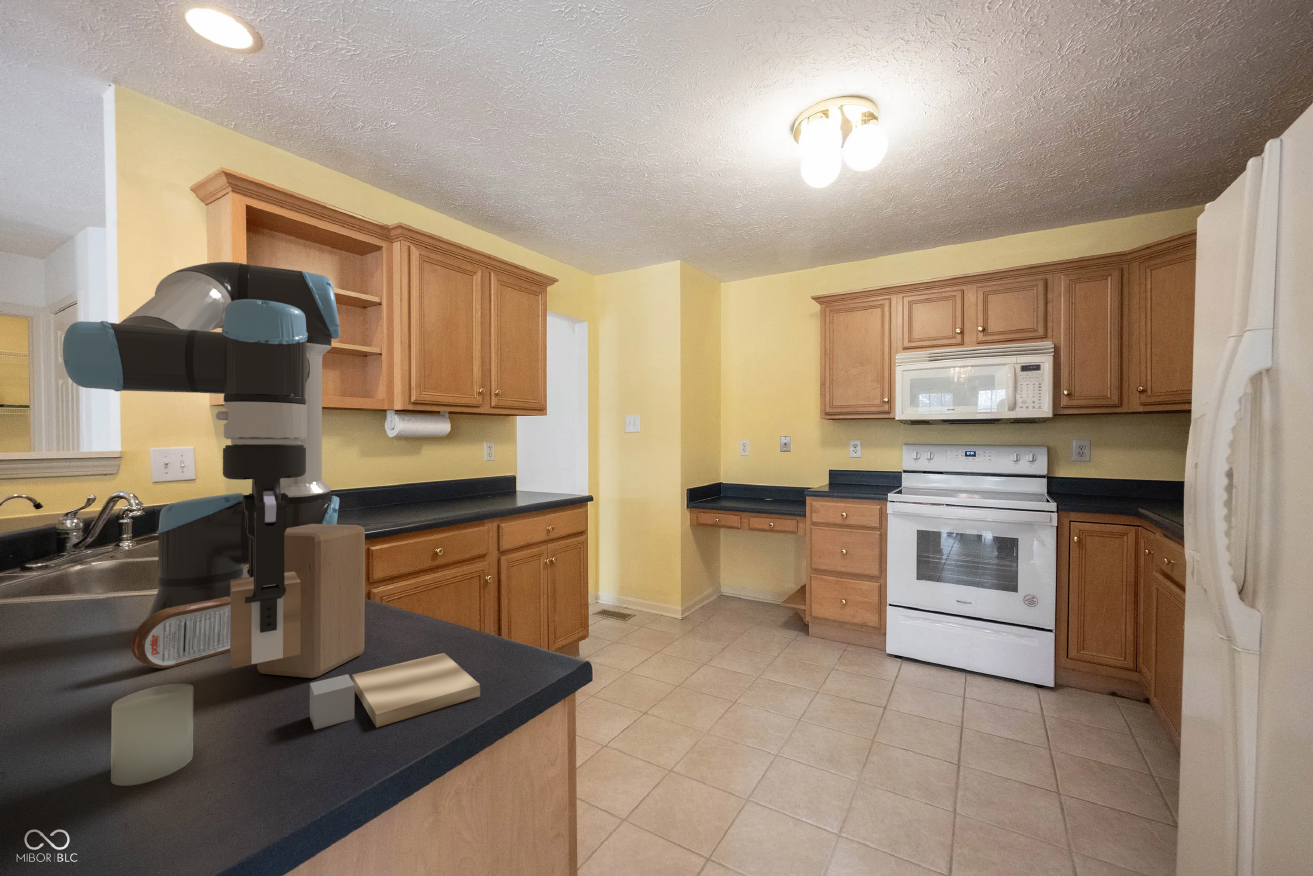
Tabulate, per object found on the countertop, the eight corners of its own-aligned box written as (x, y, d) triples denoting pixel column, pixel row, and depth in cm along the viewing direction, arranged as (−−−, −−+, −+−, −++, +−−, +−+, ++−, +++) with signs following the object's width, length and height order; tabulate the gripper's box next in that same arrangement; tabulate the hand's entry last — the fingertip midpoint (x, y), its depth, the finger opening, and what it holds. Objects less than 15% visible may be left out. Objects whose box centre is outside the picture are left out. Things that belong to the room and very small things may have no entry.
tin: (251, 641, 90) (251, 590, 90) (260, 644, 88) (261, 592, 89) (129, 674, 77) (130, 614, 77) (138, 679, 75) (139, 618, 75)
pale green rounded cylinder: (115, 765, 55) (116, 695, 55) (193, 744, 59) (194, 678, 59) (106, 794, 50) (107, 717, 50) (191, 769, 54) (192, 698, 54)
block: (314, 681, 74) (315, 534, 74) (253, 675, 76) (254, 532, 76) (367, 654, 84) (367, 524, 84) (312, 649, 86) (312, 522, 86)
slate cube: (309, 717, 64) (309, 683, 64) (348, 706, 67) (348, 674, 67) (314, 730, 61) (314, 695, 61) (354, 719, 64) (354, 685, 64)
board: (352, 686, 73) (352, 674, 73) (444, 663, 80) (444, 652, 80) (376, 727, 62) (376, 714, 62) (480, 696, 69) (480, 684, 69)
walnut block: (230, 651, 61) (230, 579, 61) (294, 638, 65) (294, 571, 65) (231, 668, 56) (231, 591, 56) (300, 654, 60) (300, 581, 60)
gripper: (222, 442, 66) (221, 634, 65) (224, 443, 51) (222, 690, 51) (296, 442, 70) (295, 621, 70) (317, 442, 56) (316, 669, 55)
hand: (265, 650), depth 60 cm, fingers closed on walnut block, 6 cm apart
